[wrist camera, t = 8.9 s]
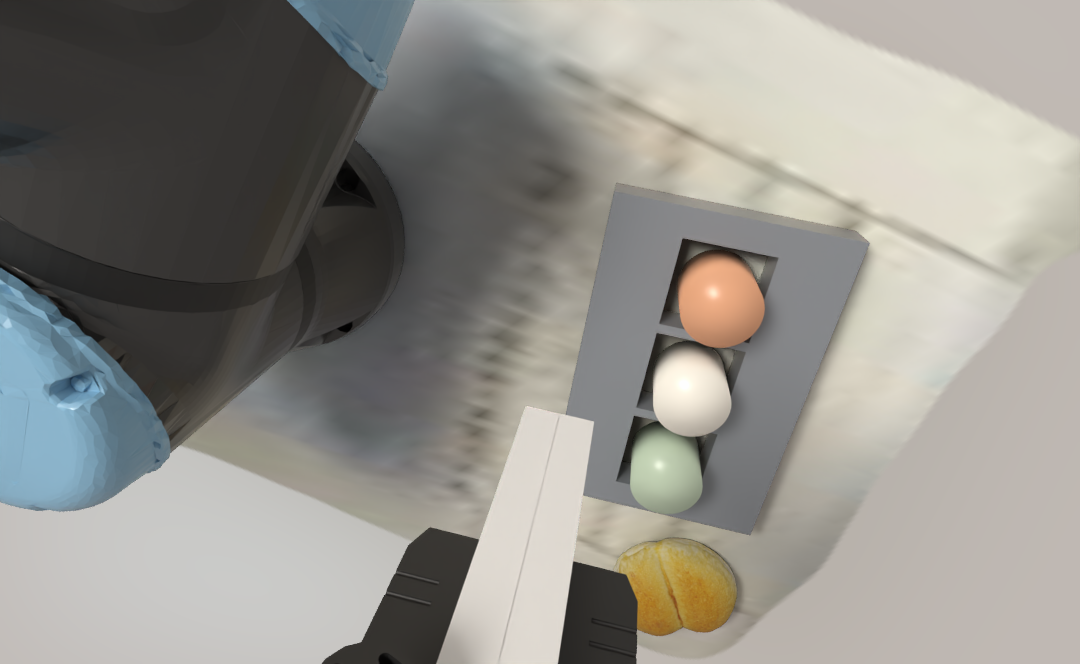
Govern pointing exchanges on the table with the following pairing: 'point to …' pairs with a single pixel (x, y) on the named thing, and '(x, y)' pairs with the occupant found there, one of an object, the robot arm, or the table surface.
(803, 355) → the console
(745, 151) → the table surface
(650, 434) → the pale green rounded dome
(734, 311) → the brown egg
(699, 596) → the bread roll
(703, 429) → the cream button
